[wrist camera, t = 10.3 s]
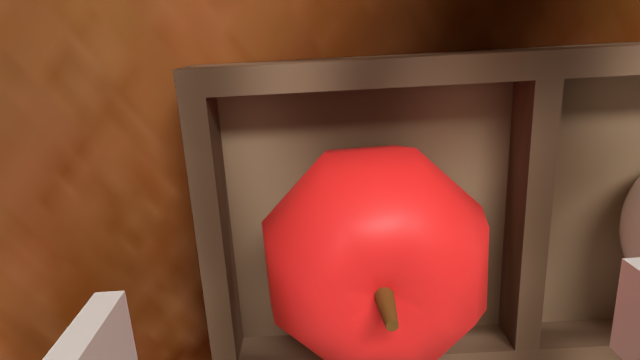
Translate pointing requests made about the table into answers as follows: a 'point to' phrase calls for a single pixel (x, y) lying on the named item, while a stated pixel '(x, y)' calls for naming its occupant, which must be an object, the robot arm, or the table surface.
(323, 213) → the apple
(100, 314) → the robot arm
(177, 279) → the table surface
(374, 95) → the walnut well tray
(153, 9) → the table surface
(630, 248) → the ceramic ball
